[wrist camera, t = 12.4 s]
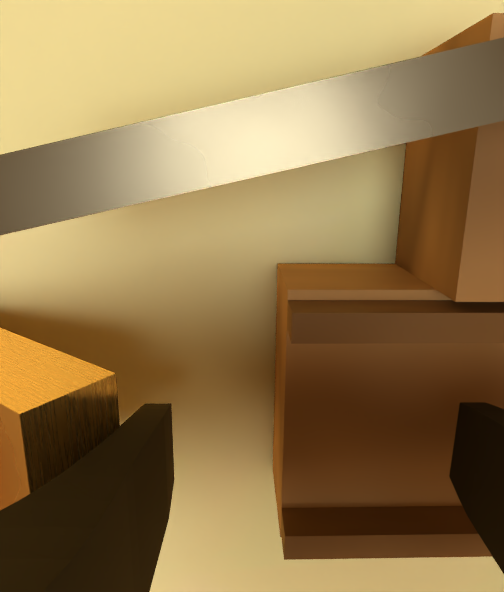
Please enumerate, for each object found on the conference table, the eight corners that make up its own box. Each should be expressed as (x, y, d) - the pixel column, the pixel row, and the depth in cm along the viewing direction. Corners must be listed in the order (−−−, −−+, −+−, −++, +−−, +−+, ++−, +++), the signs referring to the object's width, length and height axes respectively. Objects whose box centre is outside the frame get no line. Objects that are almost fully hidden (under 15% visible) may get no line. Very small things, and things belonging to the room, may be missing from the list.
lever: (61, 221, 9) (-21, 248, 6) (40, 159, 9) (-56, 156, 6) (603, 98, 9) (781, 65, 6) (602, 29, 8) (789, -42, 6)
